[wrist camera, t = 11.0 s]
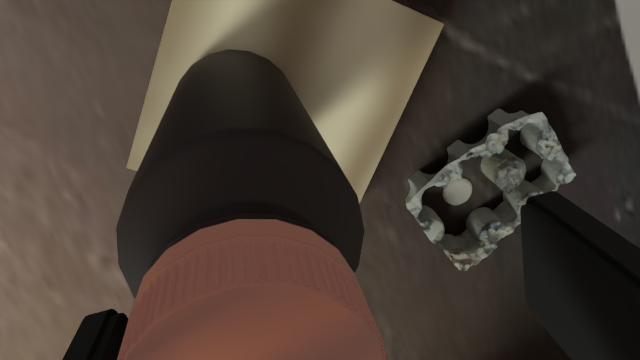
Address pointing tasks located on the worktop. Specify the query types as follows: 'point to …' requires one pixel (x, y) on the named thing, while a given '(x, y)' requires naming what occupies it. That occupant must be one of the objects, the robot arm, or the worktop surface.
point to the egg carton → (500, 170)
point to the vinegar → (242, 228)
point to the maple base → (306, 65)
